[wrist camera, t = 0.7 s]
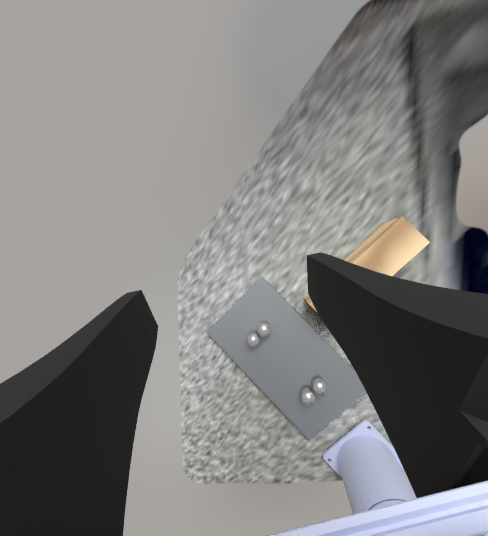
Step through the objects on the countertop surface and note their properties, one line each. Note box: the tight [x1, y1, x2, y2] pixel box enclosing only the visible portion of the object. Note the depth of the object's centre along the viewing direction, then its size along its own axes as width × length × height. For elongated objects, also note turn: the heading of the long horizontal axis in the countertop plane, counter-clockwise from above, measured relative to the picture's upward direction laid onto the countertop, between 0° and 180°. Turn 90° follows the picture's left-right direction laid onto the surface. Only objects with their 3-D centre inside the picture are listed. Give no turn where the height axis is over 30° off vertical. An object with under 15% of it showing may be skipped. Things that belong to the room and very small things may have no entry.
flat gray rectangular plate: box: [207, 277, 366, 440], centre depth 31 cm, size 20×11×3 cm, turn 45°
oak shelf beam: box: [304, 217, 430, 312], centre depth 29 cm, size 4×14×5 cm, turn 135°
